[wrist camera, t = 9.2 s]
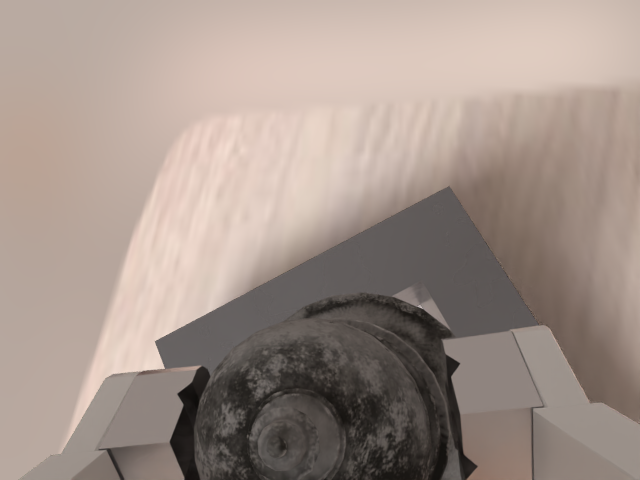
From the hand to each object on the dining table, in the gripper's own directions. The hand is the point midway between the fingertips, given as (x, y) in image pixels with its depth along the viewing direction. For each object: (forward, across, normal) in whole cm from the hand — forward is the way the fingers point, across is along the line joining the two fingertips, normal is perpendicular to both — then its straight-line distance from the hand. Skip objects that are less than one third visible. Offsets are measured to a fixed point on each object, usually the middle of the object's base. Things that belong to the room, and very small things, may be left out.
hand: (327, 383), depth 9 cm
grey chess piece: (+6, 0, +6) cm, 8 cm away
